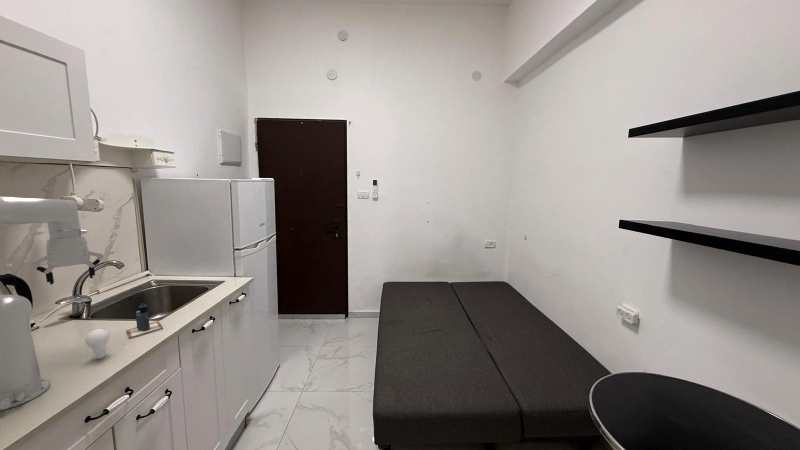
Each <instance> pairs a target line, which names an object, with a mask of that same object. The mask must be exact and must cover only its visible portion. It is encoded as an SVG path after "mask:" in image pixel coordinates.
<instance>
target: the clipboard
mask: <svg viewBox="0 0 800 450" xmlns="http://www.w3.org/2000/svg"><path fill="white" fill-rule="evenodd" d="M149 324H150V329H149V330H147V331H139V330H138V329H137V326H136V327H133V328H129V329H126V330H125V332H126V335H127V338H128V340H131V339H134V338H138V337H141V336H144V335H148V334H150V333H155V332H159V331H161V330H164V327H163V325H162V324H161V322H160V321H158V320H157V321H153V322H151V323H150V322H149ZM160 329H161V330H160Z"/></svg>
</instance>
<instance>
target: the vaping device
mask: <svg viewBox="0 0 800 450" xmlns="http://www.w3.org/2000/svg"><path fill="white" fill-rule="evenodd" d="M138 309H139V310H136V314H135V321H136V327H137V329H138V330H139V331H147V330H149V329H150V319H149V313H148V307H147V304H145V303H144V302H142V303H140V304H139V306H138Z"/></svg>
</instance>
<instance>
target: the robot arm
mask: <svg viewBox="0 0 800 450" xmlns="http://www.w3.org/2000/svg"><path fill="white" fill-rule="evenodd" d="M46 223H47V231H48V236H49V238H48V239H46V243H45V244H46V245H45V248H46V249H45V250H46V255H45V256H43V257H40V258H38V259H36V260H34V261H31V263H30V265H31V266H33V268H34V269H36V270H37V271H39V272H41V273H43V274H44V275H45V279H46V283H49V285H53V284H54V283H55V279H54V273H53V272H52V271H53V270H54V269H55V268H60V267H61V268H62V267H71V266H77V265H78V266H79V265H83V264H85V265H86V266H88V272H89V273H88V275H89V279H93V278H94V276H96V272H95V267H96V266H97V265H98V264H99V263H100V262H101V260H102V258H103V257H104V254H103V253H98V252H94V251H91V250H90V249H89V247H88V246H89V245H88V242H87V239H86V237H85V236H83V235H84V234H87V229H81V224H80V217H79V211H78V204H77V202H76V201H75V200H72V199H71V200H70V199H66V200H65V199H55V198H54V199H53V198H35V197H34V198H31V197H16V196H1V195H0V226H14V225H27V224H28V225H29V224H46ZM90 256H92V257H96V259H95V260H94V261H90V259H91V257H90ZM45 261H46V263H47V266H48V267H47V268H46V267H44V266H42V265H40V264H41V263H43V262H45ZM32 309H33V308H32V303H31V301H30V300H29V299H28V298H27V297H25V296H22V295H17V294H0V411H5V410H8V409H11V408H14V407H17V406H20V405H23V404H24V403H25V404H26V403H27V402H29V401H31V400H34V399H35V398H37V397H39V396H41V395H42V394H43V393H45V392H47V390H49V388H50V387H51V384H52V383H51V380H50V379H48V378H42V376H41V371H40V366H39V362H38V357H37V352H36V347H35V344H34V338H33V333H32V326H31V320H32V319H31V318H32Z"/></svg>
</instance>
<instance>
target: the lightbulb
mask: <svg viewBox="0 0 800 450" xmlns="http://www.w3.org/2000/svg"><path fill="white" fill-rule="evenodd" d="M110 336H111V335H110V332H109V331H108V330H106V329H104V328H99V329H98V328H97V329H93V330H92V331H89V332H88V334H87V335H86V337H85V339H84V341H85V344H86V345H87V347H90V348H91V349H92V352H93V354H94V356H95V358H96V359H103V358H105V356H106V354H107V353H106V352H107V344H108V342H109V340H110Z"/></svg>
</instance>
